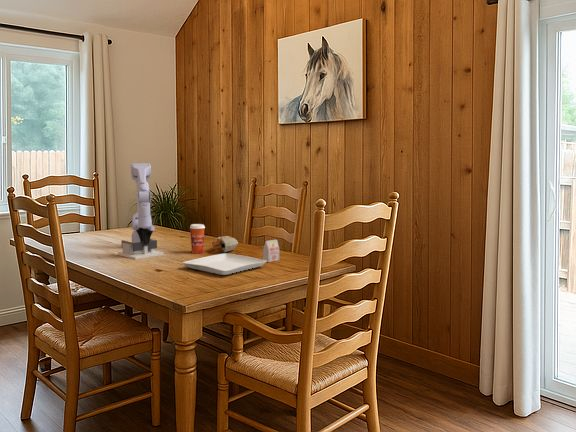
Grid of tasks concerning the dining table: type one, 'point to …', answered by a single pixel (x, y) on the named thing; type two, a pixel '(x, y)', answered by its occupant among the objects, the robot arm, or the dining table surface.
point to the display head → (138, 252)
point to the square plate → (224, 263)
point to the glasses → (141, 245)
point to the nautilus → (224, 244)
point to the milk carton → (271, 251)
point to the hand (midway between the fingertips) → (144, 243)
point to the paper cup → (197, 238)
